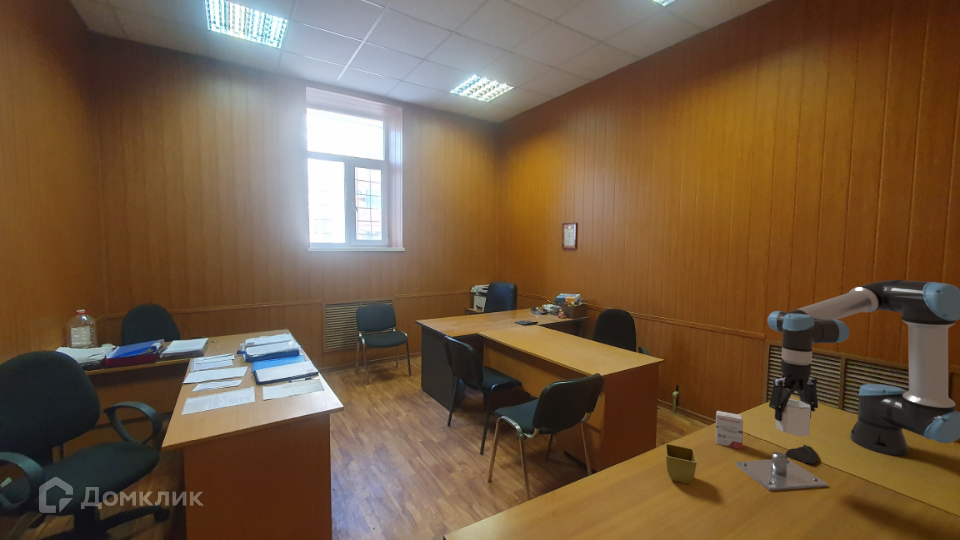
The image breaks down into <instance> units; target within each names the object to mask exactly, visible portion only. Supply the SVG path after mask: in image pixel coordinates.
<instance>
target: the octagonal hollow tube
mask: <svg viewBox="0 0 960 540" xmlns="http://www.w3.org/2000/svg"><path fill="white" fill-rule="evenodd" d="M779 407H780V406H779ZM784 412H786V424H785V432H784V433H785V434H788V435H793V436H797V437H809V436H810V428H811V427H810V426H811V425H810V424H811V419H810V412H811V413H812V411H811V408H810V405H809V404H806V403H804V402H802V401H801V400H799V399H793V398H789V400H788V403H787V405H786V407H785V409H784Z"/></svg>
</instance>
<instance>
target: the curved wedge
mask: <svg viewBox="0 0 960 540" xmlns="http://www.w3.org/2000/svg"><path fill="white" fill-rule="evenodd" d="M784 454H785V455H786V456H787V458H788V459H790V460H794V461H796V462H799V463H803V464H806V465H808V466H810V467H811V466H814V465H815V464H816V463H817V461H818V458H819V457H818V454H817V452H816V451H815V450H814V449H813V447H811V446H809V445H806V444H804V443H803V445H802V446H799V447H794V448H790V449H788V450H787V451H786V452H785V453H784Z"/></svg>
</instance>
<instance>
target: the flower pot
mask: <svg viewBox="0 0 960 540" xmlns="http://www.w3.org/2000/svg"><path fill="white" fill-rule="evenodd" d="M664 446H665V460H666V470H667V474H668V477H669V478H670V480H671V481H675V482H679V483H684V484H690V483H691V482H692V481H693V479H694V477H695V474H696V468H697V463H698V462H697V457H696V453H695V449H694V448H690V447H687V446H686V447H685V446H680V445H675V444H671V443H665V444H664Z"/></svg>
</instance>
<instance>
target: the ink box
mask: <svg viewBox="0 0 960 540" xmlns="http://www.w3.org/2000/svg"><path fill="white" fill-rule="evenodd" d="M743 424H744V420H743V415H742V414H738V413H737V414H736V413H731V412H726V411H721V410H716V411H715V444H716V445H721V446H726V447H730V448H735V449H737V450H738V449H740V450H742V449H743V436H744V435H743V431H744V430H743V429H744V428H743V427H744V426H743Z"/></svg>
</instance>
